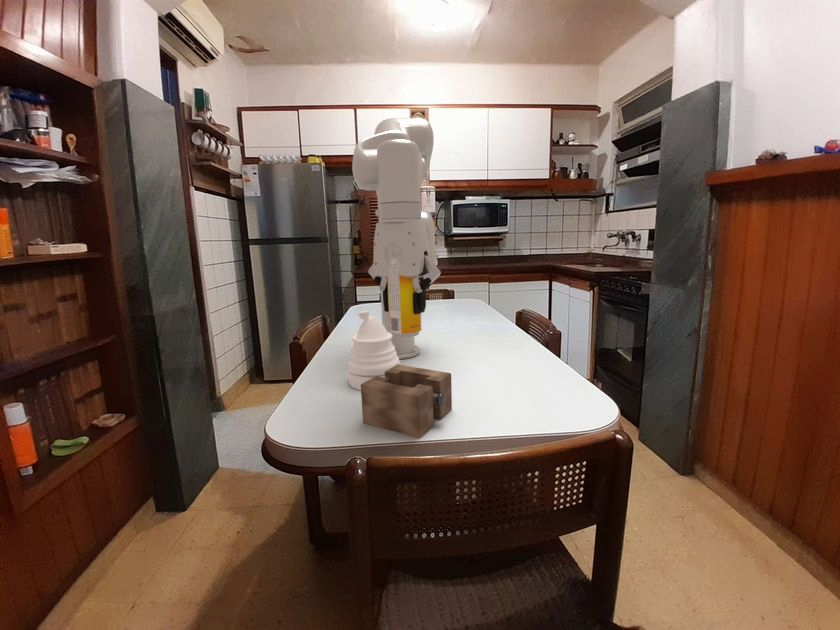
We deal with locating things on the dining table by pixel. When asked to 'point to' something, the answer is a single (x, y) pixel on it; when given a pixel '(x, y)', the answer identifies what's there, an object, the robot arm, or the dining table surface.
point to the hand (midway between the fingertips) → (404, 310)
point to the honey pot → (370, 351)
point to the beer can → (401, 303)
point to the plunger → (439, 399)
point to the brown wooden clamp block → (405, 399)
